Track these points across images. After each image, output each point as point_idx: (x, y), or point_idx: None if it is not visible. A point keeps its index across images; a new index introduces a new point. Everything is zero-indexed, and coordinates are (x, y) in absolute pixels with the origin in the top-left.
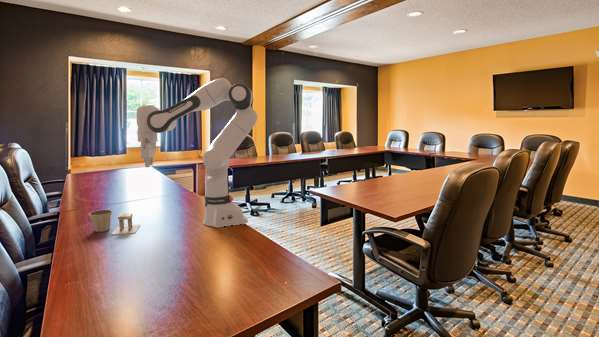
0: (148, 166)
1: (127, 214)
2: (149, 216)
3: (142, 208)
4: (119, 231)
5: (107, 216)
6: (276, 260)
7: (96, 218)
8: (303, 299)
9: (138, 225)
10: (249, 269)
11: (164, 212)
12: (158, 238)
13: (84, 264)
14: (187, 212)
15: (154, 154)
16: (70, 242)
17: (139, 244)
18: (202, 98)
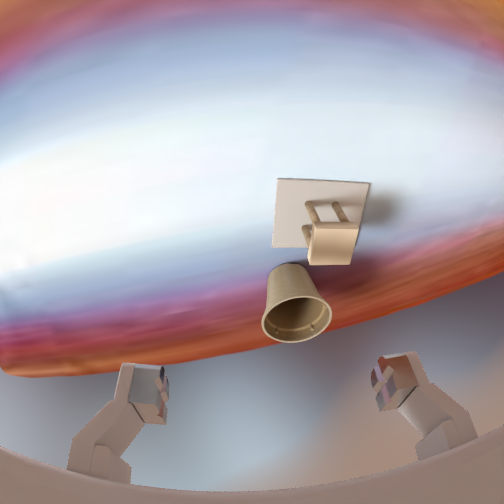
0: (415, 359)
1: (329, 241)
2: (144, 167)
3: (35, 221)
4: None
5: (318, 294)
6: None
7: (323, 314)
8: None
9: (285, 184)
10: None
11: (89, 119)
12: (444, 114)
13: (493, 248)
14: (109, 15)
15: (56, 479)
16: (363, 309)
17: (462, 164)
18: None
